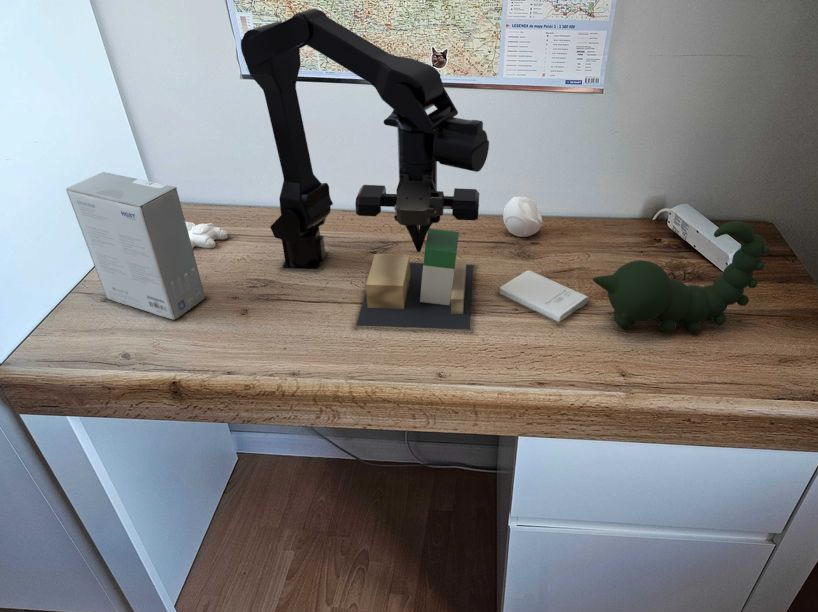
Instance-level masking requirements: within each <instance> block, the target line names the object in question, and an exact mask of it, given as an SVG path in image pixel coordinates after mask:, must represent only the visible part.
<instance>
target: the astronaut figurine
mask: <svg viewBox="0 0 818 612" xmlns="http://www.w3.org/2000/svg"><path fill="white" fill-rule="evenodd" d="M185 223H186V226H187V230H188V234H189V237H190V241H191V245H192V249H193V250H194V247H199V248H204V249H214V248H215V247H216V242H215V240H227V239H228V236H229V235H228V233H227V231H226V230H225V229H223V228H222V227H218V226H215V223H213V222H208V223H199V224H195V223H194V222H190V221H185Z"/></svg>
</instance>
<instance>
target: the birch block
mask: <svg viewBox="0 0 818 612" xmlns="http://www.w3.org/2000/svg"><path fill="white" fill-rule="evenodd" d="M410 263H411V256H410V254H394V253H392V254H391V253H390V254H389V253H375V254H374V256H373V259H372V262H371V266H370V269H369V273H368V275H367V279H366V283H365V294H366V293H367V305H368V308H389V309H404V307H405V302H406V297H407V292H408V287H409V282H410Z"/></svg>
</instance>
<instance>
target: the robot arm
mask: <svg viewBox="0 0 818 612" xmlns="http://www.w3.org/2000/svg"><path fill="white" fill-rule="evenodd" d="M306 46H308V47H310V48H311V49H312V50H314V51H316V52H318V53H319V54H321V55H323V56H324V57H326V58H328V59H329V60H330V61H332V62H334V63H335V64H337V65H339V66H341V67H342V68H344V69H345V70H348V71H349V72H350V73H352V74H354V75H355V76H358V77H359V78H361V79H363V80H364V81H365V82H368V84H370V85H371V86H372V87H373V88H374V89H375V90H376V91H377V93H378V95H379V97H380V99H381V101H383V102H384V103H385V104H386V105H387V106H389V107H390V108H391V109H392V112H391V113H390V115H389V116H388V117H386V118H385V119H384V120H383V124H384V125H385V126H389V127H394V128H397V130H396V131H397V156H398V157H397V159H398V183H397V187H396V193H387V188H386V185H381V184H380V185H378V184H363V185H362V186H361V187H360V188H359V190H358V192H357V195H356V197H355V204H354V205H355V215H357V216H358V217H377V216H378V215H379V214H380V213H381V212H382V207H384V208H385V207H388V208H389V207H390V208H394V212H395V213H394V216H393V218H394V221H396V222H397V223H398V224H399V225H401V226H405V228H406V230H407V231H408V233H409V235H410V238H411V241H412V243H413V245H414V248H415V250H416V252H417V253H421V252H422V250H423V249H422V248H423V246H424V243H425V239H426V238H427V234H428V230H429V228H431V227H432V225H433V224H438V223H440V221H441V216H443V215H444V210H451V211H452V212H451V213H452V216H453V217H454V219H456V220H457V221H477V220H479V211H480V210H479V208H480V192H479V191H478V190H477V189H476V188H458V187H457V188H456V187H454V189H453V195H444V191H441V190H438V163H439V164H440V165H443V166H448V167H453V168H455V169H456V168H457V169H461V170H467V171H471V172H475V173H478V172H480V171H481V170H482V169H483V167H484V166H485V163H486V162H487V158H488V155H489V149H490V140H489V138H488V134H487V132H486V131H485V129H484V122H483V121H482V120H478V119H465V118H459V117H456V116H457V115H458V114H459V111H458V110H457V107H456V106H455V104H454V103H453V101H452V98H451V97H450V95H449V94H448V93H447V90H446V89H445V87H444V85H443V80H442V78H441V74H440V72H439V71H438V69H436V68H435V67H434V66H433V65H431V64H428V63H426V62H422V61H420V60H417V59H414V58H410V57H406V56H399V55H394V54H392V53H389V52H388V51H385V50H383V49H382V48H381V47H379V46H377V45H375V44H374V43H373V42H370V41H368V39H366V38H363V36H360V35H359V34H357V33H356V32H353V31H352V30H350V29H348V28H347V27H346V26H343V25H342V24H340V23H339V22H337V21H335V20H333V19H332V18H330V17H329V16H327V14H326V13H325V12H324V11H323V10H320V9H318V8H311V9H310V8H309V9H306V10H303V11H300V12H296V13H295V14H294V15H292V17H290V18H288V19H286V20H284V21H274V22H271V23H268V24H264V25H262V26H258V27H255V28H252V29H251V28H250V29H248V30H247V31H246V32H244V34H243V36H242V38H241V39H240V49H241V54H242V56H243V60H244V62H245V65H246V68H247V71H248V73H249V75H250V77H251V78H252V79H253V80H254V81H255V82H256V84H257V85H258V86H259V87H260V88H261V89H262V91H263V94H264V99H265V103H266V107H267V112H268V116H269V121H270V125H271V129H272V134H273V138H274V141H275V146H276V150H277V154H278V159H279V164H280V168H281V173H282V177H283V181H282V186H281V189H280V194H279V200H278V201H279V209H280V216H279V217H277V219H276V220H275V221H274V222H273V223H272V224H271V225H270V227H269V228H270V230H271V232H272V234H273V237H274V238H275V239H278V240H281V245H282V250H283V256H284V262H283V264H282V269H294V270H295V269H298V270H318V269H320V266H321V264H322V263H323V262H324V261H325V258H326V248H325V240H324V239H325V238H324V236H323V235H322V234H321V231H320V226H323V225H325V222H326V218H327V217H328V216H329V215H330V213H331V210H332V209H331V206H333V204H334V203H333V200H332V198H331V196H330V195H331V194H330V186H329V184H328V182H321V181H320V179H318V178H317V176H316V175H315V174H314V171H313V166H312V161H311V156H310V155H311V154H310V151H309V147H308V145H309V144H308V141H307V136H306V131H305V126H304V121H303V116H302V112H301V106H300V102H299V96H298V92H297V82H298V77H299V73H300V69H301V50H300V49H301V48H304V47H306ZM432 107H435V108H436V109H435V110H432V112H430V113H427V111H428V109H430V108H432Z"/></svg>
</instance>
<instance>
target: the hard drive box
mask: <svg viewBox="0 0 818 612" xmlns="http://www.w3.org/2000/svg"><path fill="white" fill-rule="evenodd" d="M65 189H66V190H65V191H66V193H67V196H68V199H69V201H70V204H71V207H72V209H73V212H74V215H75V218H76V221H77V223H78V225H79V228H80V231H81V234H82V236H83V239H84V242H85V245H86V247H87V250H88V253H89V256H90V258H91V261H92V263H93V266H94V268H95V271H96V274H97V276H98V279H99V282H100V285H101V287H102V290H103V292H104V295H105V298H106V299H107V300H110V301H112V302H115V303H119V304H122V305H125V306H129V307H132V308H135V309H138V310H142V311H144V312H148V313H151V314H153V315H156V316H159V317H163V318H167V319H170V320H173V321H174V320H177V319H179V318H180V317H182V316H183V315H184V314H186V313H187V312H188V311H190V310H191V309H193V308H194V307H195V306H196V305H198V304H199V303H200V302H202V301H203V300H205V299H206V294H205V291H204V286H203V283H202V279H201V276H200V271H199V268H198V264H197V260H196V257H195V256H196V255H195V253H194V248H193V249H192V245H191V241H190V237H189V234H188V230H187V226H186V223H185V222H186V219H185V216H184V215H185V214H184V212H183V208H182V204H181V200H180V197H179V193H178V187H176V186H172V185H168V184H164V183H159V182H154V181H149V180H145V179H140V178H135V177H131V176H126V175H120V174H115V173H111V172H105V171H103V172H100V173H97V174H95V175H93V176H91V177H88V178H86V179H84V180H82V181H79V182H77V183H75V184H73V185H70V186H68V187H66V188H65Z"/></svg>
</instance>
